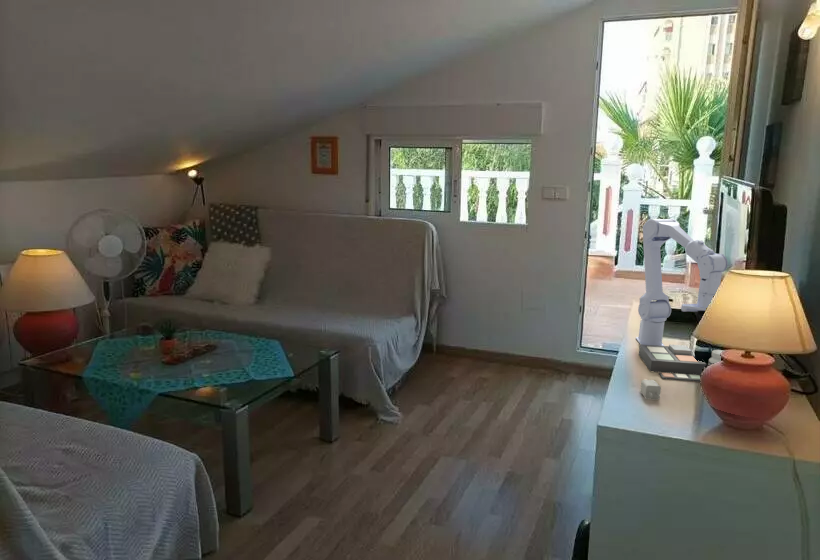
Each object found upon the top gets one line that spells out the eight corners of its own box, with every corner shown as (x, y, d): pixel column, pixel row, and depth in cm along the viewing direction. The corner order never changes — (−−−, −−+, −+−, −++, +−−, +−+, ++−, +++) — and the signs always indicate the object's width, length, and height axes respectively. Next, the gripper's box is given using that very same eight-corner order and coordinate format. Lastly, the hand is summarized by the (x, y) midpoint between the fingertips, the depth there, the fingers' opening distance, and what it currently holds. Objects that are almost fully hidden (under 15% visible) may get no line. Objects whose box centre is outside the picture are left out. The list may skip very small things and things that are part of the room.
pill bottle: (722, 381, 183) (727, 349, 181) (730, 388, 178) (735, 356, 175) (702, 380, 184) (707, 348, 182) (709, 387, 178) (714, 354, 176)
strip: (662, 379, 183) (662, 376, 183) (658, 374, 187) (659, 371, 187) (704, 382, 182) (705, 379, 182) (700, 377, 186) (700, 374, 186)
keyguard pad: (638, 354, 205) (639, 344, 204) (688, 358, 203) (690, 347, 202) (650, 371, 190) (651, 360, 189) (704, 375, 188) (706, 364, 187)
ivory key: (645, 355, 203) (646, 346, 202) (662, 356, 202) (663, 347, 202) (649, 360, 198) (650, 351, 197) (667, 361, 197) (668, 352, 196)
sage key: (650, 362, 196) (652, 353, 195) (668, 363, 195) (669, 354, 195) (655, 368, 191) (656, 358, 190) (673, 369, 190) (674, 360, 190)
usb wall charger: (654, 393, 173) (656, 380, 172) (662, 403, 166) (664, 389, 165) (639, 392, 173) (641, 379, 172) (647, 402, 166) (649, 388, 165)
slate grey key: (668, 353, 202) (669, 344, 201) (685, 354, 201) (686, 345, 201) (672, 358, 197) (673, 349, 196) (690, 359, 196) (691, 350, 195)
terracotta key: (673, 363, 195) (674, 354, 195) (691, 365, 195) (692, 356, 194) (678, 369, 190) (680, 360, 189) (697, 371, 189) (698, 361, 189)
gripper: (688, 294, 188) (682, 336, 191) (738, 296, 186) (732, 339, 189) (681, 288, 195) (676, 330, 198) (729, 291, 193) (723, 333, 196)
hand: (703, 334), depth 194 cm, fingers closed
